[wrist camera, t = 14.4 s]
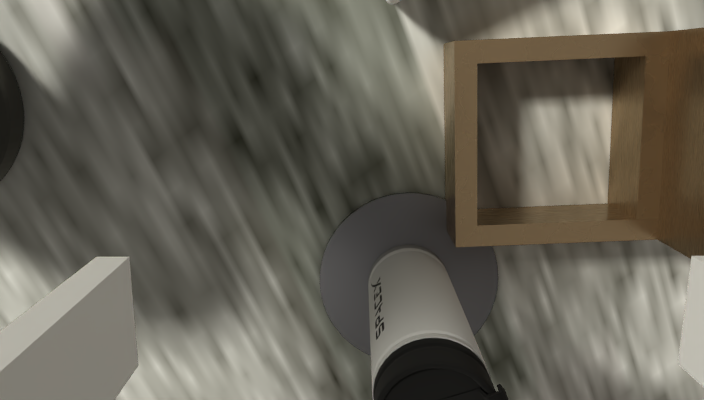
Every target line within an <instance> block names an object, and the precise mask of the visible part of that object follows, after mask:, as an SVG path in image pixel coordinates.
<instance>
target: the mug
mask: <svg viewBox="0 0 704 400" xmlns="http://www.w3.org/2000/svg"><path fill="white" fill-rule="evenodd" d="M386 1H387V2H388V3H389V4H391V5H393V4H395V3H397V2H399V1H401V0H386Z"/></svg>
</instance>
